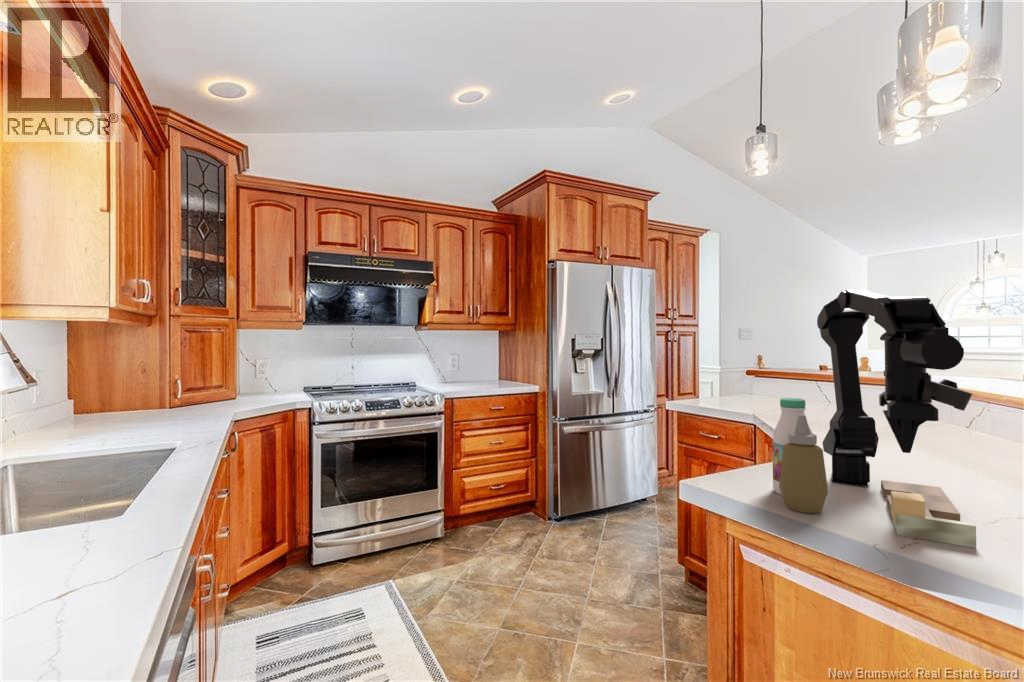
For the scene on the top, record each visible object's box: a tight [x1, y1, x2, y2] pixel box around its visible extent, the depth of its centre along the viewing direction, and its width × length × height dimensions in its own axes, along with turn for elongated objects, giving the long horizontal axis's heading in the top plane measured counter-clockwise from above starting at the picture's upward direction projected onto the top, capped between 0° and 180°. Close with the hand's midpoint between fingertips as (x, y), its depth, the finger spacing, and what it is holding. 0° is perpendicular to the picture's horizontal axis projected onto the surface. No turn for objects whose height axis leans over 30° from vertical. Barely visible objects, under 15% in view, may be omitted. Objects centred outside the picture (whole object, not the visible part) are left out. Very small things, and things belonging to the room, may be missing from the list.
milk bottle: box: [772, 397, 813, 496], centre depth 99 cm, size 8×8×20 cm
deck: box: [880, 479, 977, 549], centre depth 87 cm, size 10×27×3 cm, turn 146°
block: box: [890, 491, 925, 522], centre depth 80 cm, size 4×4×4 cm
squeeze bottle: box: [779, 414, 829, 514], centre depth 91 cm, size 8×8×18 cm
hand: (906, 452), depth 85 cm, fingers closed
